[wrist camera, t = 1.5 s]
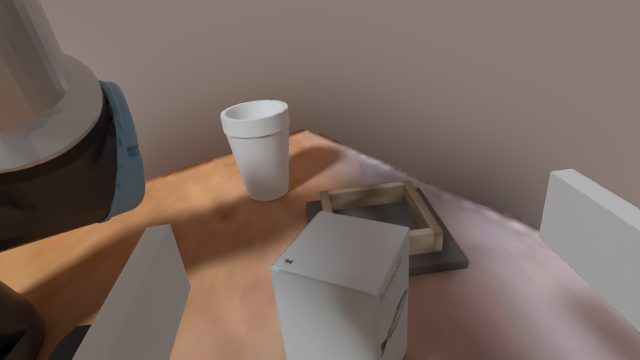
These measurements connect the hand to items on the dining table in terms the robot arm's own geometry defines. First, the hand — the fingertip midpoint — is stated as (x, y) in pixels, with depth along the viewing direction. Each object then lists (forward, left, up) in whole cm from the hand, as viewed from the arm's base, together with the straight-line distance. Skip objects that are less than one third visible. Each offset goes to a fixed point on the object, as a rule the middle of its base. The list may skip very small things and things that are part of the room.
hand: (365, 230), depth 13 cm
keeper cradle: (-17, +22, -20) cm, 35 cm away
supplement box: (-7, +6, -21) cm, 23 cm away
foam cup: (-37, +21, -21) cm, 47 cm away
